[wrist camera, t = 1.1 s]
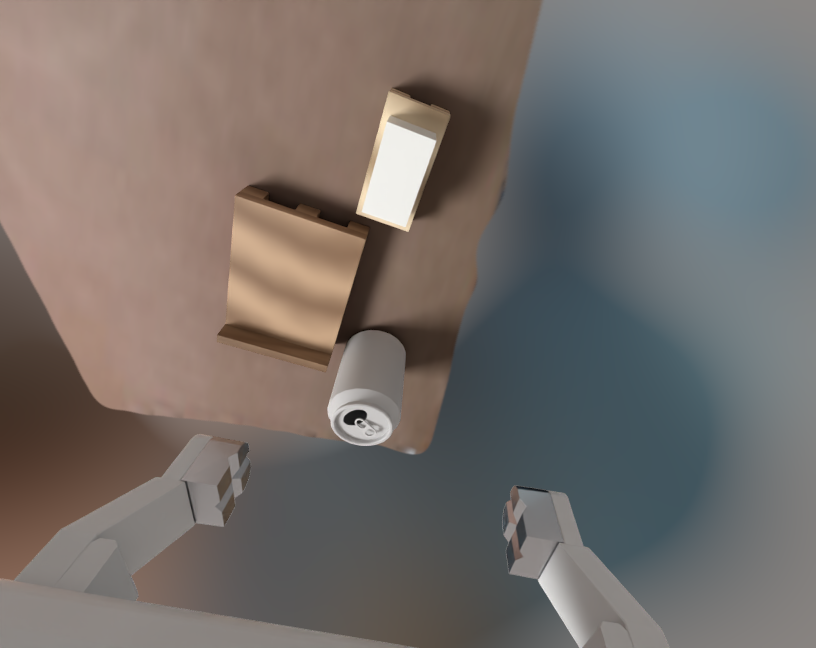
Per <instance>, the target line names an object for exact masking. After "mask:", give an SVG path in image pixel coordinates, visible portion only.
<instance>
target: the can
mask: <svg viewBox="0 0 816 648" xmlns="http://www.w3.org/2000/svg"><path fill="white" fill-rule="evenodd" d="M405 361H406V352H405V349H404V347H403V345H402V344H401V342H400V341H399V340H398V339H397V338H395V337H394V336H392V335H391V334H389V333H386V332H383V331H378V330H367V331H363V332H359V333H357V334H356V335H354V336H352V337H351V338H350V339H349V341H348V342H347V344H346V347H345V350H344V353H343V357H342V360H341V364H340V367H339V371H338V374H337V377H336V381H335V384H334V388H333V391H332V395H331V398H330V401H329V405H328V408H327V409H328V416H329V418H330V420H331V427H332V429H333V431H334V432H335V434H336V435H338V436H339V437H340V438H341V439H343V440H345V441H347V442H349V443H352V444H356V445H362V446H369V445H377V444H379V443H382V442H384V441H385V440H387V439H388V438H389V437H390V436H391V434H392V432H393V430H394V429H395V428H397V426H398V424H399V422H400V418H401V407H402V395H403V384H404V372H405Z"/></svg>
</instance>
